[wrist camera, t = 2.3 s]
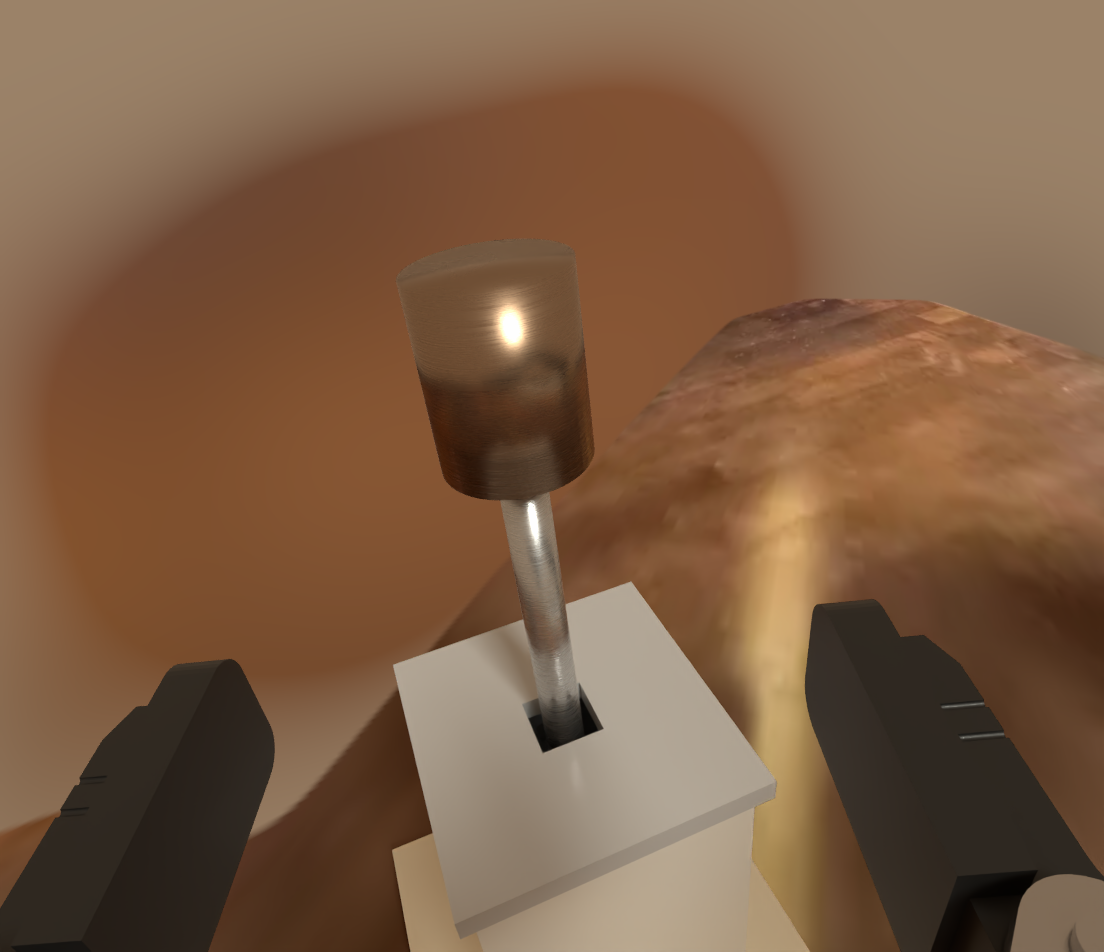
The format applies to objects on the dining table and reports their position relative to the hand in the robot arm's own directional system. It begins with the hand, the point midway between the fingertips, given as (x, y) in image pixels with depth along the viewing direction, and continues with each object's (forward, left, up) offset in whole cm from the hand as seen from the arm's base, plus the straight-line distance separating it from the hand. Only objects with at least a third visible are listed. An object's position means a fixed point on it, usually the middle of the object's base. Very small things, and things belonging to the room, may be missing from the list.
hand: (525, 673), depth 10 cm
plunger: (-3, -12, -21) cm, 25 cm away
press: (-3, -12, -36) cm, 38 cm away
